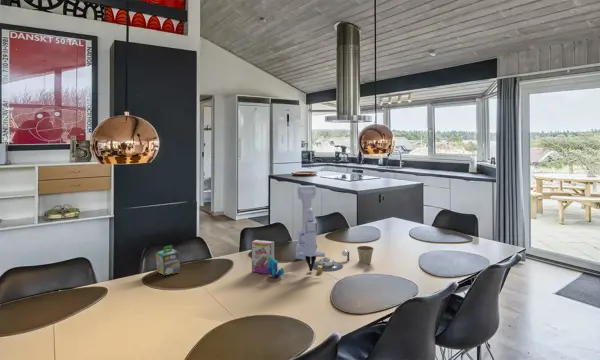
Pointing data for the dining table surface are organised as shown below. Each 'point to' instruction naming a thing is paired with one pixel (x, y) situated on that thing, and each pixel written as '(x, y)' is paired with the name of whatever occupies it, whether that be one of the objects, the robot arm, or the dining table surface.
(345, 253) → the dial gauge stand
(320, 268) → the turntable
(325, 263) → the cover
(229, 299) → the dining table surface
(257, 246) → the candy bar box
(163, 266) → the chalk box
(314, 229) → the robot arm
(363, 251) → the flower pot
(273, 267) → the gemstone
